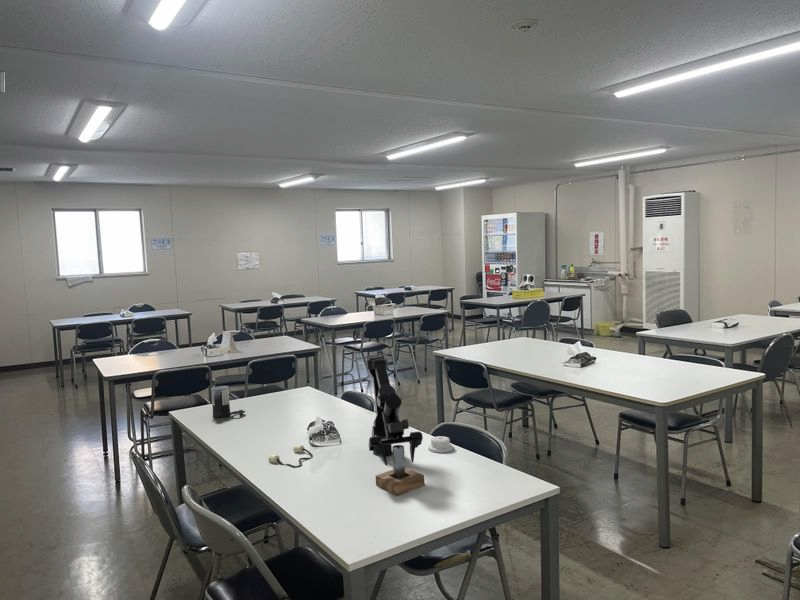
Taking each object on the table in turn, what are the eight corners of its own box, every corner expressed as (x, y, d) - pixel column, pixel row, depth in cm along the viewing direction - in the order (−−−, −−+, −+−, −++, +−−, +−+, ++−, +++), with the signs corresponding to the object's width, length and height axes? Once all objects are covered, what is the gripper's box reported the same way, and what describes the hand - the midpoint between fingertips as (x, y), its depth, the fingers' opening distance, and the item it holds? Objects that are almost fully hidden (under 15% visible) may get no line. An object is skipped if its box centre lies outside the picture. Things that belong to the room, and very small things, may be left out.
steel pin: (392, 485, 199) (390, 448, 198) (397, 480, 203) (395, 444, 202) (403, 486, 197) (401, 449, 196) (407, 482, 201) (405, 445, 200)
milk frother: (211, 414, 303) (209, 387, 302) (242, 410, 310) (240, 382, 308) (214, 421, 290) (212, 392, 289) (246, 416, 297) (244, 388, 296)
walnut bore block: (376, 485, 201) (375, 475, 201) (402, 475, 208) (402, 466, 208) (397, 495, 192) (397, 485, 191) (424, 484, 199) (424, 475, 199)
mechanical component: (425, 447, 238) (432, 454, 229) (424, 436, 238) (432, 444, 228) (447, 443, 241) (456, 451, 231) (447, 433, 240) (456, 440, 231)
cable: (324, 457, 233) (323, 448, 233) (294, 470, 220) (293, 462, 220) (297, 450, 242) (297, 442, 242) (267, 463, 229) (266, 454, 229)
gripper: (367, 414, 200) (374, 456, 190) (420, 409, 204) (429, 449, 194) (365, 430, 209) (372, 470, 199) (416, 424, 212) (424, 464, 202)
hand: (399, 463), depth 198 cm, fingers open, 9 cm apart
